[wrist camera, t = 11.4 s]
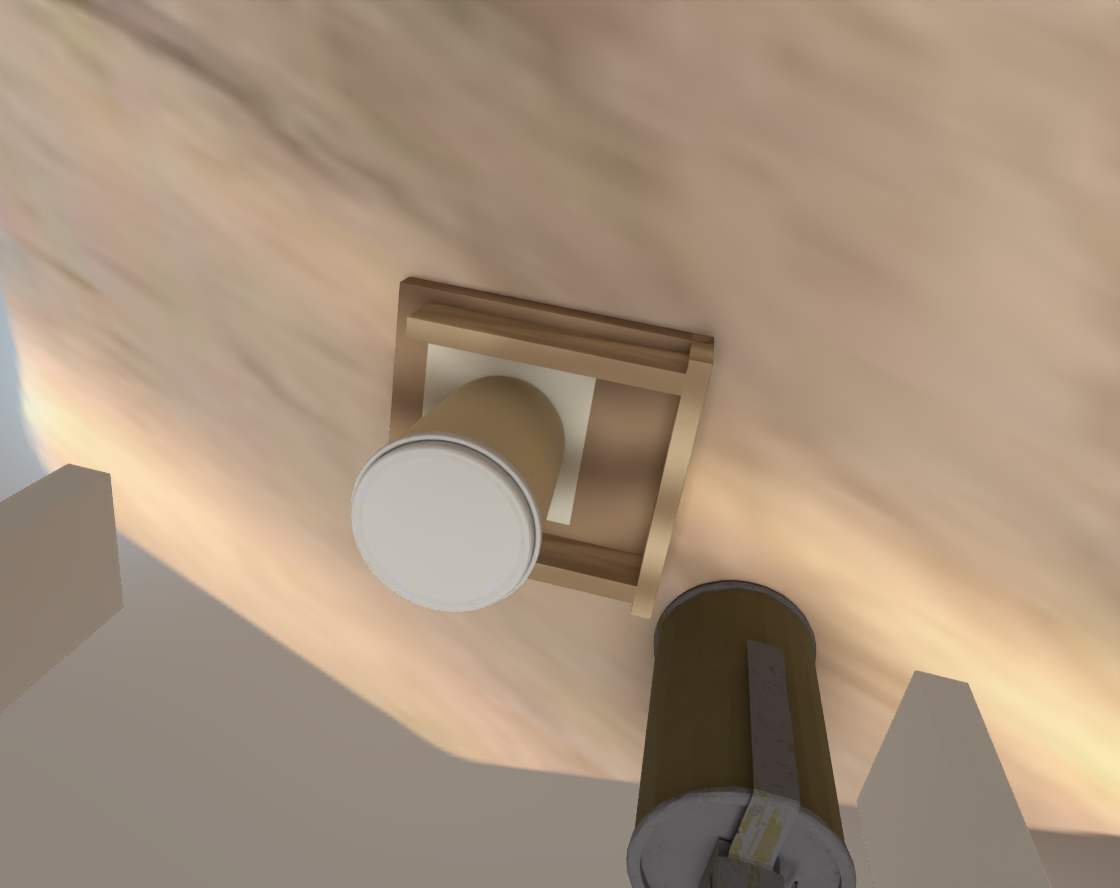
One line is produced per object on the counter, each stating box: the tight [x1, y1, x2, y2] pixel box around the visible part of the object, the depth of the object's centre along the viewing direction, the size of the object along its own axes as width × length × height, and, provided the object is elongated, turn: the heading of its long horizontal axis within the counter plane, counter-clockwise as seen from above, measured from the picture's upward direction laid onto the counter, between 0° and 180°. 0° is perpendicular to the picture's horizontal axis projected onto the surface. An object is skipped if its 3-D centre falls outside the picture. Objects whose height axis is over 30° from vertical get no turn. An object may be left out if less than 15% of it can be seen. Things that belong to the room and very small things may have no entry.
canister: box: [626, 581, 856, 888], centre depth 43 cm, size 11×10×20 cm
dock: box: [389, 277, 714, 619], centre depth 47 cm, size 16×18×5 cm
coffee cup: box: [351, 376, 565, 612], centre depth 42 cm, size 9×9×12 cm
